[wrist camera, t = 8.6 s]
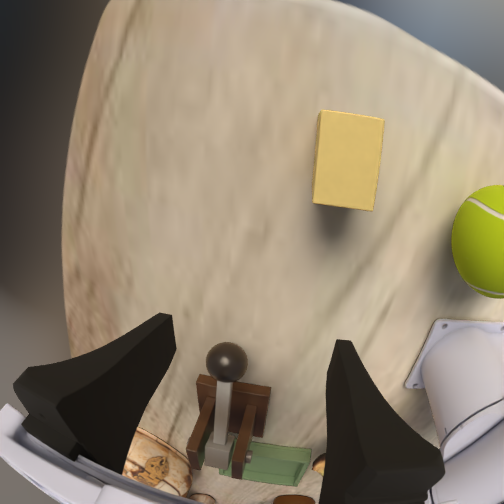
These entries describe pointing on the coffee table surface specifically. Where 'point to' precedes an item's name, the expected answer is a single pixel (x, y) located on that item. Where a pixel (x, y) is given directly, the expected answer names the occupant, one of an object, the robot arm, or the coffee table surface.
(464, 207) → the tennis ball
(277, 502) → the mug
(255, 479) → the butter dish
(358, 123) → the block
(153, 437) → the trinket box
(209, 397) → the brown lever mount bracket
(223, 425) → the lever
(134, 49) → the coffee table surface
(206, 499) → the sculpture
